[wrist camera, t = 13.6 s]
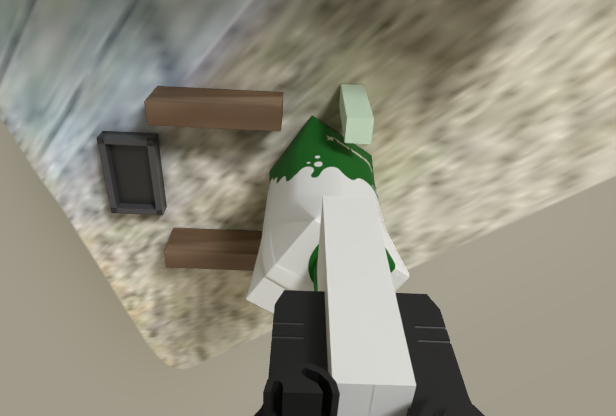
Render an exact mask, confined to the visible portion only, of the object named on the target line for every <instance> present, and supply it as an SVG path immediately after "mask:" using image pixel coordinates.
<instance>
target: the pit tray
mask: <svg viewBox="0 0 616 416" xmlns="http://www.w3.org/2000/svg"><path fill="white" fill-rule="evenodd" d="M97 141H98V146H99V151H100V156H101V162H102V167H103V172H104V177H105V182H106V187H107V192H108V197H109V203H110V208H111V213H124V214H148V215H163V214H164V212H165V209H166V207H167V206H166V198H165V190H164V182H163V174H162V166H161V158H160V149H159V141H158V134H155V133H134V132H112V131H102V133H101V134H100V135H99V136H98V137H97Z"/></svg>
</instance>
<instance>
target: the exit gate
mask: <svg viewBox="0 0 616 416" xmlns="http://www.w3.org/2000/svg"><path fill="white" fill-rule="evenodd" d="M339 110H340V116H341V123H342V129H343V136H344V142H345V143H356V144H371V141H372V133H373V125H374V117H373V113H372V110H371V107H370V104H369V101H368V97H367V94H366V91H365V88H364V85H352V84H341V87H340V99H339Z"/></svg>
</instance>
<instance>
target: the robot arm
mask: <svg viewBox="0 0 616 416" xmlns="http://www.w3.org/2000/svg"><path fill="white" fill-rule="evenodd" d="M317 284H318V291H297V290H284V291H283V293H282V294H281V296H280V297H279V299H278V300H277V302H276V303H275V306H274V318H273V330H272V342H271V355H270V366H269V378H268V380H267V383H266V386H265V389H264V392H263V393H264V394H263V401H264V402H263V405H262V407H261V409H260V410H259V411H258V412H257V413H256V414H255V415H254V416H484V415H483V414H482V413H481V412H480V411H479V410H478V409H477V408H476V407H475V406H474V405H472V403H471V401H470V399H469V397H468V394H467V391H466V388H465V384H464V381H463V378H462V375H461V373H460V369H459V366H458V363H457V360H456V357H455V354H454V351H453V348H452V345H451V344H450V339H449V336H448V333H447V330H445V324H444V321H443V318H442V314H441V312H440V309H439V308H438V307H437V306H436V304H435V303H434V302H433V301H432V300H431V299H430V298H429V296H428V295H427V294H407V293H395V290H394V285H393V281H392V276H391V272H390V268H389V263H388V259H387V254H386V250H385V246H384V241H383V237H382V232H381V228H380V224H379V219H378V215H377V210H376V206H375V202H374V198H371V197H348V196H325V195H323V198H322V211H321V224H320V237H319V250H318V263H317Z"/></svg>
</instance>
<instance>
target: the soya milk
mask: <svg viewBox="0 0 616 416" xmlns="http://www.w3.org/2000/svg"><path fill="white" fill-rule="evenodd" d="M323 195H325V196H348V197H371V198H374V202H375V206H376V210H377V215H378V219H379V224H380V228H381V232H382V237H383V241H384V246H385V250H386V254H387V259H388V263H389V268H390V272H391V276H392V281H393V285H394V290H395V291H396V290H397V289H398V288H399V287H400V286H401V285H402V284H403V283H404V282H405V281H406V280H407V279H408V278H409V273H408V271H407V269H406V267H405V265H404V263H403V261H402V259H401V257H400V256H399V254H398V252H397V250H396V248H395V246H394V244H393V242H392V240H391V238H390V236H389V234H388V232H387V230H386V228H385V224H384V220H383V216H382V212H381V208H380V204H379V200H378V196H377V191H376V187H375V183H374V175H373V166H372V156H371V155H370V154H369V153H367V152H366V151H364V150H363V149H361V148H360V147H358V146H357V145H355V144H354V143H345V142H344V136H342V135H341V134H339V133H338V132H336V131H335V130H333V129H332V128H330V127H329V126H327V125H326V124H324V123H323V122H321V121H320V120H318V119H317V118H316V117H314V116H311V118H310V119H309V120H308V122H307V123H306V124H305V126H304V127H303V128H302V130H301V131H300V132H299V134H298V135H297V136H296V138H295V139H294V140H293V141H292V143H291V144H290V145H289V147H288V148H287V149H286V151H285V152H284V153H283V155H282V156H281V157H280V159H279V160H278V161H277V163H276V164H275V165H274V167H273V168H272V169H271V171H270V182H269V188H268V195H267V203H266V210H265V217H264V224H263V232H262V239H261V244H260V248H259V252H258V255H257V259H256V263H255V267H254V271H253V275H252V278H251V282H250V286H249V290H248V293H247V296H246V300H247V301H249V302H251V303H253V304H255V305H257V306H259V307H261V308H263V309H265V310H267V311H269V312H271V313H273V314H274V306H275V303H276V302H277V300H278V299H279V297H280V296H281V294H282V293H283V291H284V290H297V291H318V284H317V263H318V250H319V237H320V224H321V211H322V198H323Z"/></svg>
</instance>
